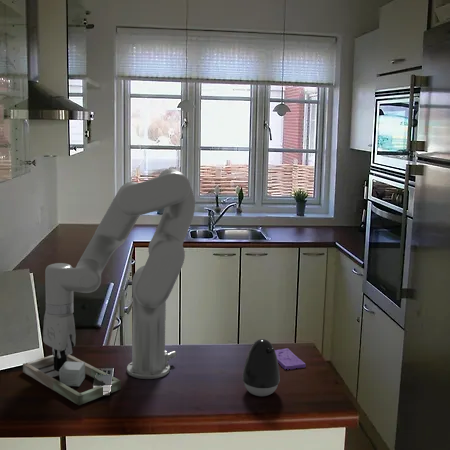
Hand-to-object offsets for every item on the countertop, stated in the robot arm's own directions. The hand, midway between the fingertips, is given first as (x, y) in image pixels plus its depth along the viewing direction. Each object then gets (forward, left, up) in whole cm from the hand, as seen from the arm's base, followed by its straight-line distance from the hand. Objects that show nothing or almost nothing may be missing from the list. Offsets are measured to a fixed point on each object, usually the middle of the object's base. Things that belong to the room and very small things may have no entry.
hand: (60, 369), depth 165 cm
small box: (0, +6, -2) cm, 6 cm away
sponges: (-56, +39, -3) cm, 68 cm away
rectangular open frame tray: (0, +5, -2) cm, 5 cm away
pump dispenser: (-33, +47, -2) cm, 58 cm away
